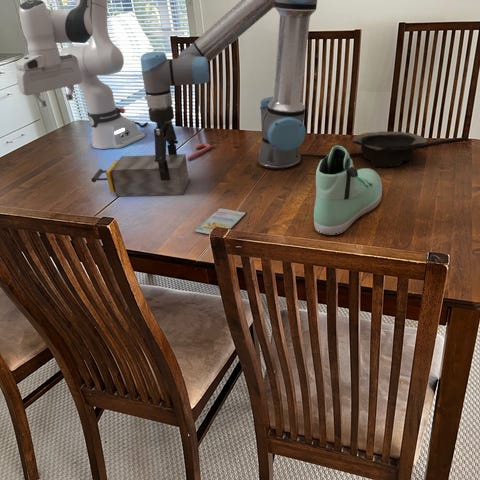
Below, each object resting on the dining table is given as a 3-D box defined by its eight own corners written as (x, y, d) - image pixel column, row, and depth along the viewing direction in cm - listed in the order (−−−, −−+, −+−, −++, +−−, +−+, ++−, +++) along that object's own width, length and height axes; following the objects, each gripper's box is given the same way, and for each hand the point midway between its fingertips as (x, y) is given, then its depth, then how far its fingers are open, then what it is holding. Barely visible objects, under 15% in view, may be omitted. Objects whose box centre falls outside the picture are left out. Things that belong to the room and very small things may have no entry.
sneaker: (389, 187, 148) (396, 123, 138) (356, 242, 123) (361, 168, 112) (346, 181, 154) (350, 119, 144) (306, 232, 129) (307, 161, 118)
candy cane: (177, 158, 182) (177, 154, 181) (202, 145, 192) (201, 141, 191) (189, 161, 179) (189, 157, 178) (214, 147, 189) (213, 144, 188)
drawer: (92, 193, 158) (87, 172, 154) (102, 180, 167) (98, 160, 163) (172, 191, 155) (168, 170, 151) (178, 178, 164) (175, 157, 160)
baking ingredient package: (194, 230, 133) (219, 207, 144) (194, 231, 133) (219, 208, 144) (222, 235, 129) (246, 211, 141) (222, 237, 129) (246, 213, 141)
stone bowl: (385, 177, 154) (386, 150, 149) (337, 159, 174) (336, 134, 170) (441, 159, 162) (444, 132, 158) (389, 143, 183) (390, 119, 178)
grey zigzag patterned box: (117, 196, 157) (111, 169, 152) (127, 181, 167) (121, 156, 162) (182, 194, 155) (178, 167, 150) (188, 179, 164) (185, 154, 159)
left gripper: (70, 52, 158) (80, 94, 165) (9, 63, 146) (23, 109, 153) (80, 53, 154) (90, 97, 161) (18, 65, 142) (31, 112, 149)
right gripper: (157, 96, 157) (166, 157, 168) (137, 119, 136) (149, 188, 147) (180, 95, 156) (187, 156, 167) (163, 119, 135) (173, 187, 146)
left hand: (57, 103), depth 157 cm, fingers open, 8 cm apart
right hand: (169, 171), depth 157 cm, fingers open, 13 cm apart
